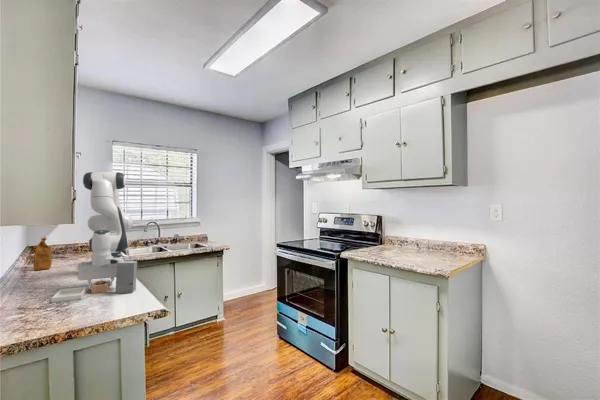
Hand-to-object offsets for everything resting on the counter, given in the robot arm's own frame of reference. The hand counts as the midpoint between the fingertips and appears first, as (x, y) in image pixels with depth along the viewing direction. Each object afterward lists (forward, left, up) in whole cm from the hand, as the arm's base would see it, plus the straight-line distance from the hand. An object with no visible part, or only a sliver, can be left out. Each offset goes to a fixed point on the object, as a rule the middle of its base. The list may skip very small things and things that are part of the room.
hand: (101, 286), depth 159 cm
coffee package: (-79, -44, -2) cm, 90 cm away
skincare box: (+9, +12, -2) cm, 15 cm away
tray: (+6, -12, -2) cm, 14 cm away
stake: (0, 0, -2) cm, 2 cm away
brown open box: (0, 0, -2) cm, 2 cm away
